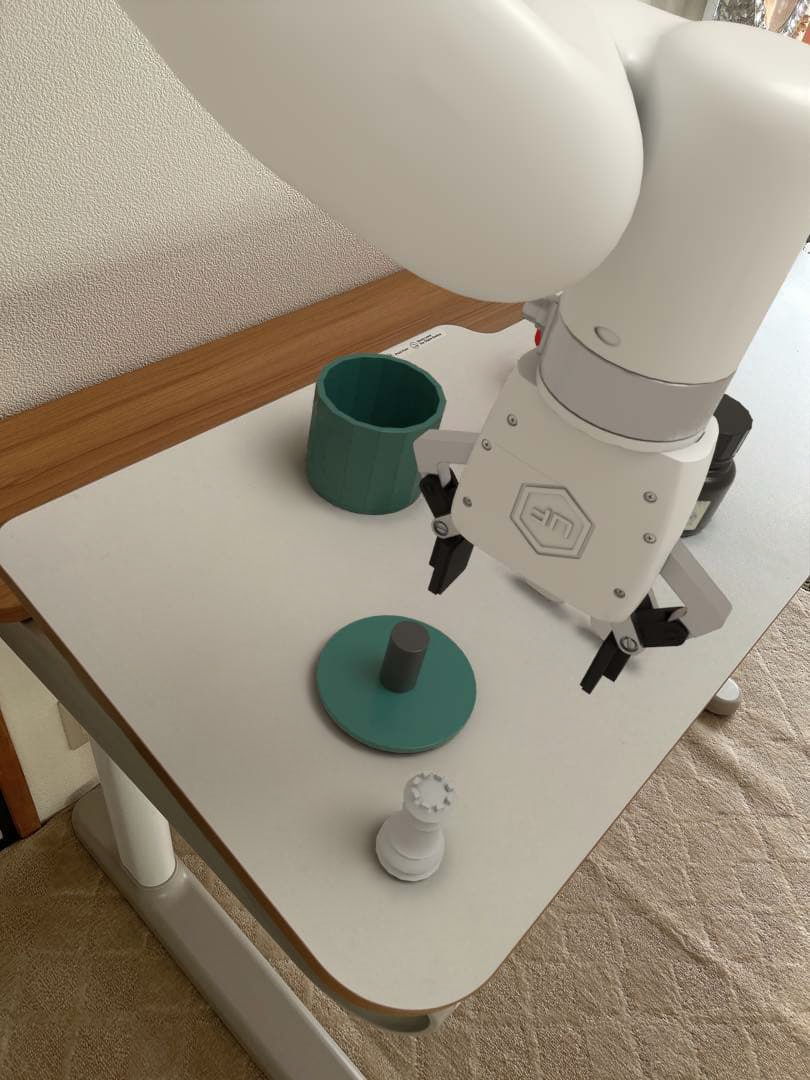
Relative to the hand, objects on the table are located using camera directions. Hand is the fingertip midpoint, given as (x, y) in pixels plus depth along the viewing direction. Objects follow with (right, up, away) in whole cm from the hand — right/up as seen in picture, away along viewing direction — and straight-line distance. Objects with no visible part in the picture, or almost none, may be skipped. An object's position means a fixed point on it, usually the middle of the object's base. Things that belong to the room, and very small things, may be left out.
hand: (518, 626), depth 49 cm
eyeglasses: (+11, 0, +29) cm, 31 cm away
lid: (-7, -6, +17) cm, 20 cm away
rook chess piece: (-6, -16, +9) cm, 19 cm away
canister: (-10, +11, +34) cm, 37 cm away
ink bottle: (+19, +8, +39) cm, 44 cm away
